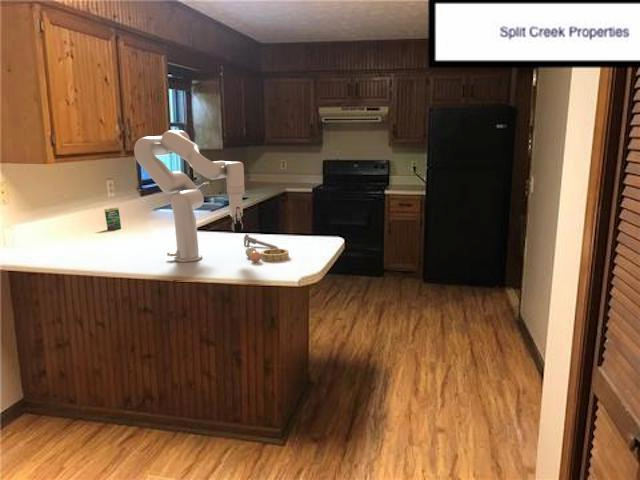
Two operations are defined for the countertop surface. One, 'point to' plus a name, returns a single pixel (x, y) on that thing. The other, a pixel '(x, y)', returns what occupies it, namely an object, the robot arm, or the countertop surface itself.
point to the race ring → (274, 255)
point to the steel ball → (233, 225)
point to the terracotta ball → (255, 256)
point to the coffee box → (112, 218)
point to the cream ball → (250, 251)
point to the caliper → (254, 241)
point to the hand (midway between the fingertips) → (237, 230)
